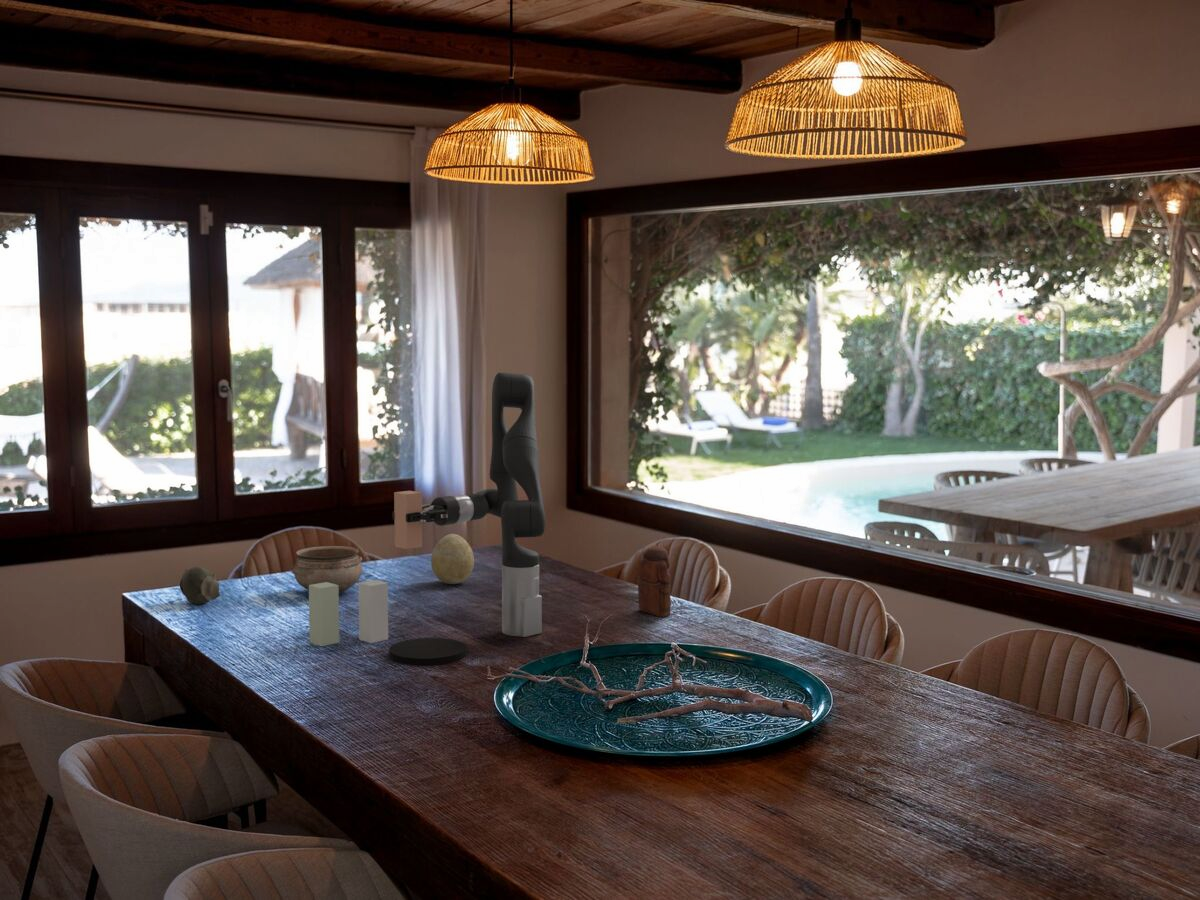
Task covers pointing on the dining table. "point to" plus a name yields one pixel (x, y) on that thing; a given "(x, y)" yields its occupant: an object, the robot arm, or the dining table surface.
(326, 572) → the cooking pot
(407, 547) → the terracotta block
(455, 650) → the wireless charger
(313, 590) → the sage block
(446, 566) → the fossilized egg
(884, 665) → the dining table surface
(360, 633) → the light grey block
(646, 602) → the wooden figurine
